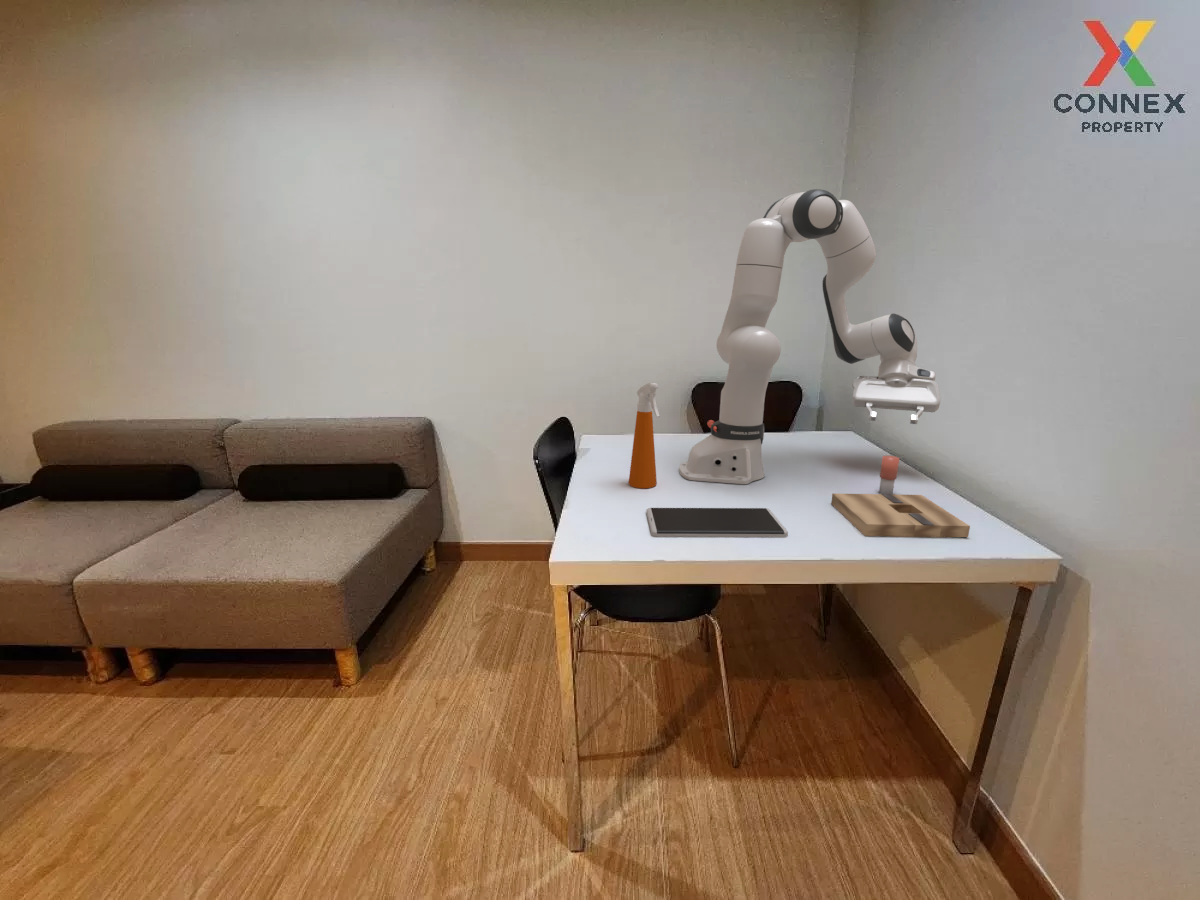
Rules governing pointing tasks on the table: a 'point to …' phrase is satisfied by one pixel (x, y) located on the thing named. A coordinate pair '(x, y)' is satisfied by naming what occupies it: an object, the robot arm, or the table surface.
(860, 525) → the board
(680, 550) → the table surface
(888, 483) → the red white cylinder
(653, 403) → the spray bottle
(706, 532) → the smartphone
